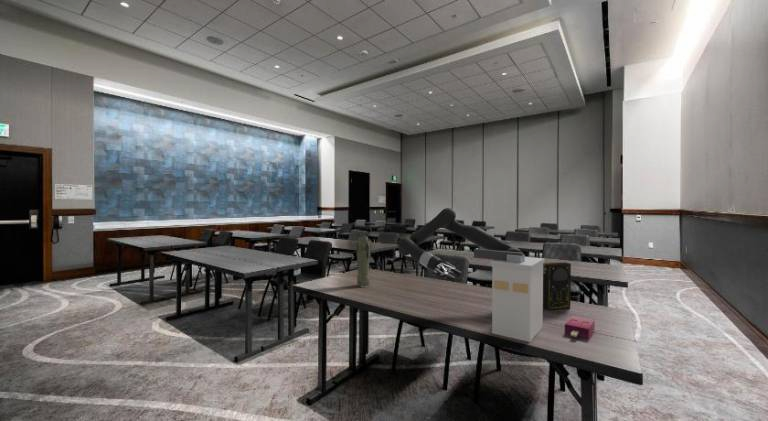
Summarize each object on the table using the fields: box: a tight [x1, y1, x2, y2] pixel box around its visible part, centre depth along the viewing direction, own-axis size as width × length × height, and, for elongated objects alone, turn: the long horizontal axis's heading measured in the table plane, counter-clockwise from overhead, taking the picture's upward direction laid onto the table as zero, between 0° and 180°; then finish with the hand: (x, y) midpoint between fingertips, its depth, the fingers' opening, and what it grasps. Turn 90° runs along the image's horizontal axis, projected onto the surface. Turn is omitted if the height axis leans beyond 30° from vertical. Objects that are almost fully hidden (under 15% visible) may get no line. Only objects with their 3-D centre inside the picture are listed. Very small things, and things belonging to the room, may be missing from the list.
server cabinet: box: [490, 256, 546, 343], centre depth 153 cm, size 17×23×32 cm
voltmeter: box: [543, 261, 572, 311], centre depth 187 cm, size 16×9×25 cm, turn 105°
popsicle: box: [564, 315, 596, 340], centre depth 149 cm, size 9×5×20 cm
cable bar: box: [473, 248, 526, 263], centre depth 154 cm, size 22×6×4 cm, turn 52°
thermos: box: [356, 235, 372, 288], centre depth 237 cm, size 9×12×35 cm
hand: (457, 277), depth 167 cm, fingers open, 8 cm apart
